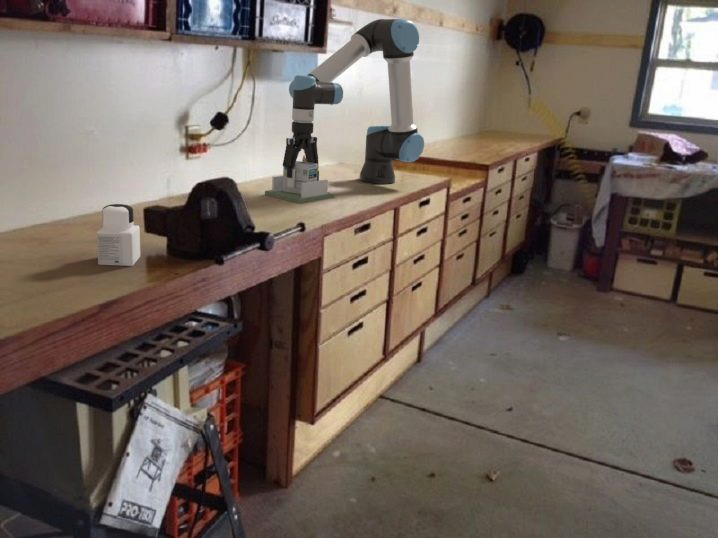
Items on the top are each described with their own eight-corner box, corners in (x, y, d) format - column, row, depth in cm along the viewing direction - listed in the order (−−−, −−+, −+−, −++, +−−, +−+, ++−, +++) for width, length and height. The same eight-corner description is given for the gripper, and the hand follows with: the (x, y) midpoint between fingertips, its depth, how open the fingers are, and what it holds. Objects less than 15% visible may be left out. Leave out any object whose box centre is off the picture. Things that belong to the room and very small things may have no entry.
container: (107, 255, 159) (104, 201, 155) (140, 256, 159) (139, 203, 155) (97, 265, 151) (95, 208, 147) (133, 266, 152) (131, 210, 148)
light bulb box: (317, 193, 242) (318, 163, 239) (308, 195, 236) (309, 165, 233) (291, 189, 246) (292, 159, 243) (281, 191, 240) (282, 161, 237)
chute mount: (299, 189, 254) (299, 172, 252) (333, 197, 244) (334, 179, 242) (264, 195, 240) (265, 176, 238) (300, 203, 230) (300, 184, 228)
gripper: (289, 123, 224) (286, 190, 230) (330, 121, 240) (327, 184, 247) (273, 121, 228) (271, 186, 235) (315, 119, 245) (312, 181, 251)
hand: (300, 185), depth 241 cm, fingers open, 9 cm apart
